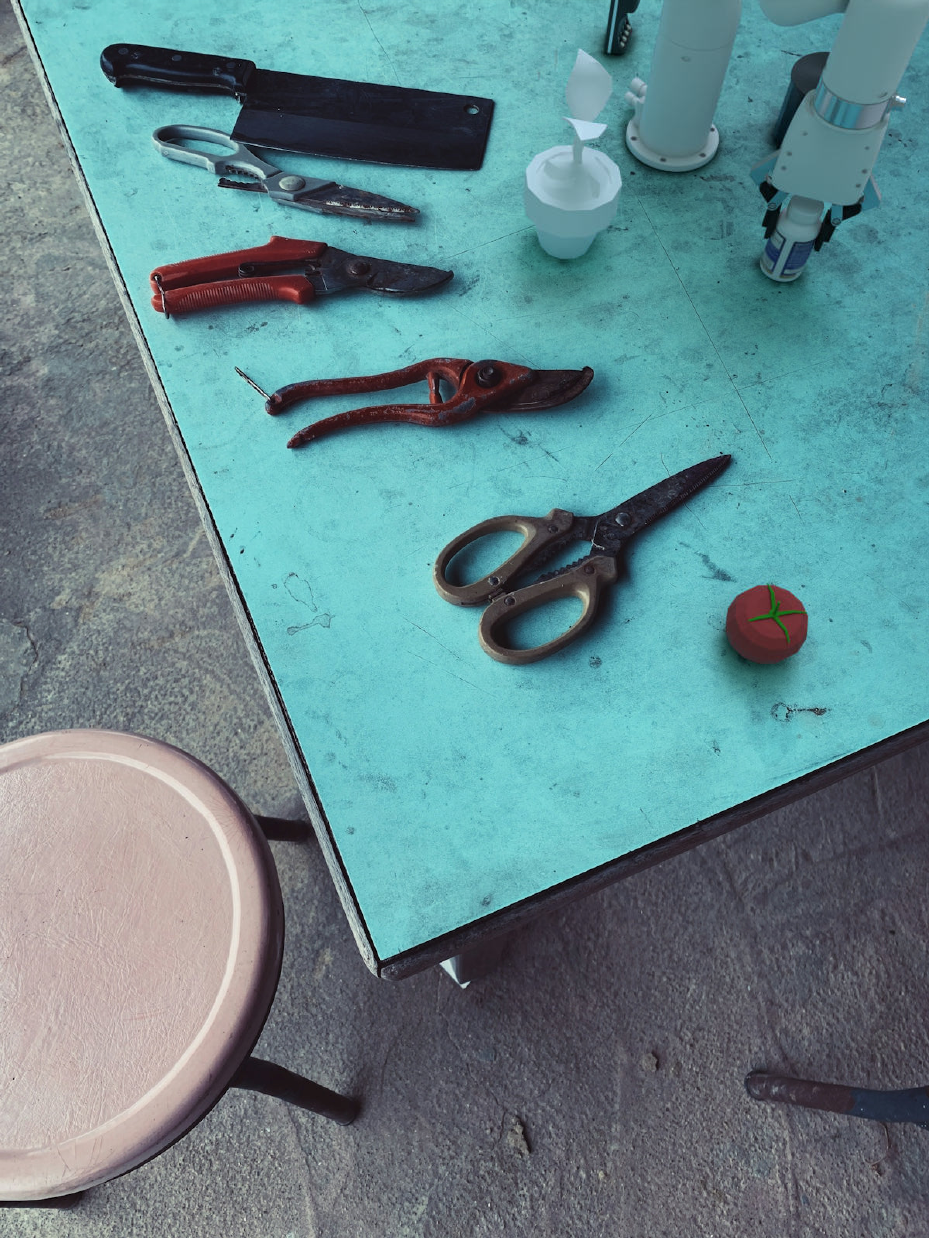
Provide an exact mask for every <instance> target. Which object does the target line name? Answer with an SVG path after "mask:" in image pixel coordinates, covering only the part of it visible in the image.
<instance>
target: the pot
mask: <svg viewBox="0 0 929 1238" xmlns="http://www.w3.org/2000/svg"><path fill="white" fill-rule="evenodd" d="M803 99H804V97H803V96H801V95H800V94H799V93H798V92H797V91H796V90H795V88H794V87H793V85H792V83H791V80H790V81H789V84H788V87H787V90H786V93H785V96H784V99H783V101H782V104H781V107H780V109H779V110H780V111H779V114H778V116H777V119H776V122H775V125H774V128H773V133H772V140H773V143H774V146H776V148H777V150H779V149H780V147H781V145H782V142H783V140H784V137H785V135H786V133H787V130H788V128H789V126H790V124H791V121H792V119H793V117H794V115H795V113H796V111H797V110H798V108H799V106H800V104H801V102H802V101H803Z"/></svg>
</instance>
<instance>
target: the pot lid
mask: <svg viewBox="0 0 929 1238" xmlns="http://www.w3.org/2000/svg"><path fill="white" fill-rule="evenodd" d="M829 54H830V51H817V52H816V51H815V52H811V53H808V54H805V55H803V56H801V57H800V58H798V59H797V60H796V61H795V63H794V64H793V65H792V68H791V71H790V76H789V77H790V81H791V83H792V85H793V87H794V88H795V90H796V91H797V92H798V93H799V94H800V95H801V96H803V97H804V98H805V96H806V95H807V93H808V92H809V91H811V90H813V89H816V88H817V85H818V83H819V80H820V78H821V75H822V72H823V70H824V67H825V64H826V62H827V59H828V57H829Z"/></svg>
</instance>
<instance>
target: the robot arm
mask: <svg viewBox="0 0 929 1238" xmlns="http://www.w3.org/2000/svg"><path fill="white" fill-rule="evenodd" d="M662 2H663V3H662V7H661V12H660V17H659V23H658V28H657V34H656V39H655V44H654V48H653V55H652V58H651V63H650V69H649V73H648V78H647V83H646V82H645V81H643V80H642V79H640V78H639V77H637V76H636V77H634V78H633V79H632V80H631V81H630V83H629V86H628V91H627V92H626V93H625V94H624V95H623V102H624V103H626V104H627V105H628V106H630V107H631V108H632V107H633V109H634V115H633V116H632V117H631V119H629V122H628V123H627V126H626V133H625V142H626V146H627V148H628V149H629V151H630V152H631V154H632V155H633V156H634V157H635V158H636V159H637V160H639V161H640V162H641V163H643V164H645V165H647V166H649V167H652V168H654V169H657V170H661V171H664V172H673V173H675V172H676V173H678V172H687V171H693V170H695V169H698V168H701V167H703V166H705V165H707V164H708V163H709V162H710V161H711V160H713V158H714V156H715V155H716V153H717V150H718V147H719V143H720V133H719V131H718V129H717V127H716V125H715V123H714V118H715V115H716V111H717V107H718V104H719V101H720V96H721V93H722V89H723V86H724V82H725V79H726V74H727V71H728V68H729V64H730V60H731V57H732V53H733V50H734V45H735V43H736V38H737V35H738V31H739V27H740V23H741V20H742V19H741V18H742V13H743V4H742V0H663V1H662ZM757 2H758V5H759V8H760V11H761V12H762V13H763V15H764V16H765V18H766V19H767V20H768V21H770V22H771V23H772V24H774V25H777V26H779V27H784V28H785V27H794V26H795V27H796V26H799V25H803V24H806V23H809V22H812V21H816V20H819V19H823V18H825V17H829V16H832V15H834V14H843V18H842V20H841V23H840V25H839V28H838V31H837V33H836V36H835V38H834V41H833V42H832V43H833V44H832V46H831V49H830V51H829V52H830V54H829V57H828V59H827V62H826V64H825V67H824V70H823V72H822V75H821V78H820V80H819V83H818V85H817V88H816V89H813V90H811V91H809V92H808V93H807V95H806V96H805V98H804V99H803V101H802V102H801V104H800V106H799V108H798V110H797V111H796V113H795V115H794V117H793V119H792V121H791V124H790V126H789V128H788V130H787V133H786V135H785V137H784V140H783V142H782V145H781V147H780V149H779V150H778V149H777V150H775V151H774V152H772V153H770V154H769V155H766V156H765V157H763V158H762V159H760V160H758V161H756V162H754V163H753V164H752V165H751V166H750V170H749V173H748V174H749V175H748V176H749V177H750V178H751V180H752V181H753V183H754V184H755V186H757V187H758V191H759V193H760V194H761V196H762V197H763V199H764V201H765V202H766V211H765V213H764V216H763V219H762V222H761V227H762V228H765V231H764V234H763V239H764V240H768V239H770V237H771V234H772V232H773V229H774V227H775V224H776V222H777V219H778V217H779V214H780V212H781V211H782V210H781V209H782V206H783V202H784V201H785V200H786V199H787V197H788V196H789V195H790V194H791V195H794V194H795V195H799V196H803V197H807V198H811V199H815V200H819V201H823V202H824V203H828V204H831V206H830V207H829V209H827V210H826V212H825V215H824V217H823V220H822V228H821V231H820V233H819V235H818V238H817V240H816V242H815V244H814V246H813V250H814V252H816V253H820V252H821V249H822V247H823V245H824V243H828V244H829V243H830V241H831V239H832V237H833V235H834V232H835V231H836V228H837V227H838V226H841V225H842V223H843V221H846V220H849V219H851V218H853V217H856V216H858V215H860V214H861V213H862V212H867V211H869V210H872V209H874V208H877V207H879V206H880V205H881V202H882V197H883V195H882V193H881V190H880V188H879V185H878V183H877V180H876V179H875V176H874V174H873V169H874V166H875V165H876V161H877V159H878V156H879V154H880V153H879V152H880V150H881V146H882V143H883V141H884V138H885V136H886V132H887V129H888V125H889V121H890V116H891V112H895V111H896V112H902V111H903V110H904V107H905V105H906V103H907V99H908V97H907V96H903V95H901V94H900V93H898V89H897V88H898V86H899V84H900V82H901V81H902V77H903V76H904V73H905V71H906V69H907V67H908V65H909V63H910V61H911V59H912V57H913V54H914V52H915V50H916V48H917V45H918V43H919V41H920V39H921V37H922V35H923V33H924V30H925V28H926V25H927V23H928V21H929V0H757ZM772 171H773V172H772ZM770 172H772V176H770V175H769V174H768V173H770Z"/></svg>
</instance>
